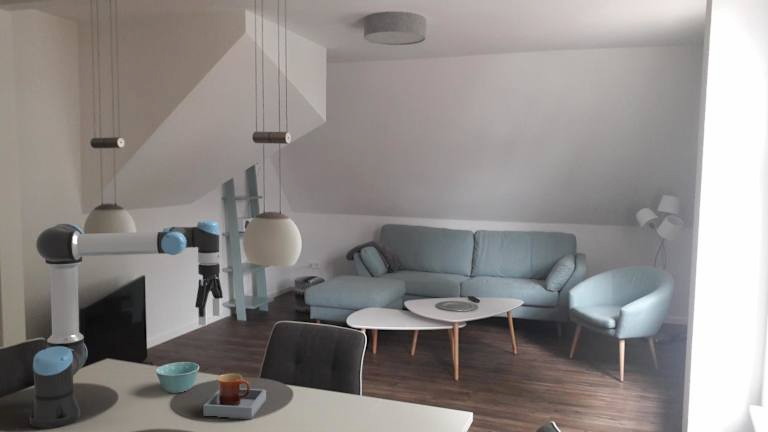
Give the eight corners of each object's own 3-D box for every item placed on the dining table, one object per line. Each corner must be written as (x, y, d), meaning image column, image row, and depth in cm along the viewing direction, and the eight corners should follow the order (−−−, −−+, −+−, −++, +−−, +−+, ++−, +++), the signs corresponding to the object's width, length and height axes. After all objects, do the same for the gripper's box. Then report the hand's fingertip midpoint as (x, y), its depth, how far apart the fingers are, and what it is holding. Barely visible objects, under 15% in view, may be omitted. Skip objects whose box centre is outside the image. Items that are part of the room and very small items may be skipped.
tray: (203, 416, 219) (203, 405, 218) (221, 397, 235) (221, 387, 235) (251, 419, 217) (251, 407, 216) (266, 400, 234) (266, 389, 233)
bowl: (149, 388, 244) (149, 367, 244) (188, 378, 255) (188, 358, 254) (166, 400, 233) (166, 378, 232) (206, 389, 243) (206, 368, 243)
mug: (212, 409, 223) (212, 380, 222) (224, 399, 231) (223, 372, 230) (244, 412, 220) (244, 383, 219) (255, 402, 229) (254, 375, 228)
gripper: (205, 269, 220) (206, 329, 222) (230, 258, 244) (231, 312, 247) (184, 269, 221) (186, 329, 223) (211, 257, 245) (212, 311, 247)
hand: (209, 320), depth 235 cm, fingers open, 13 cm apart
